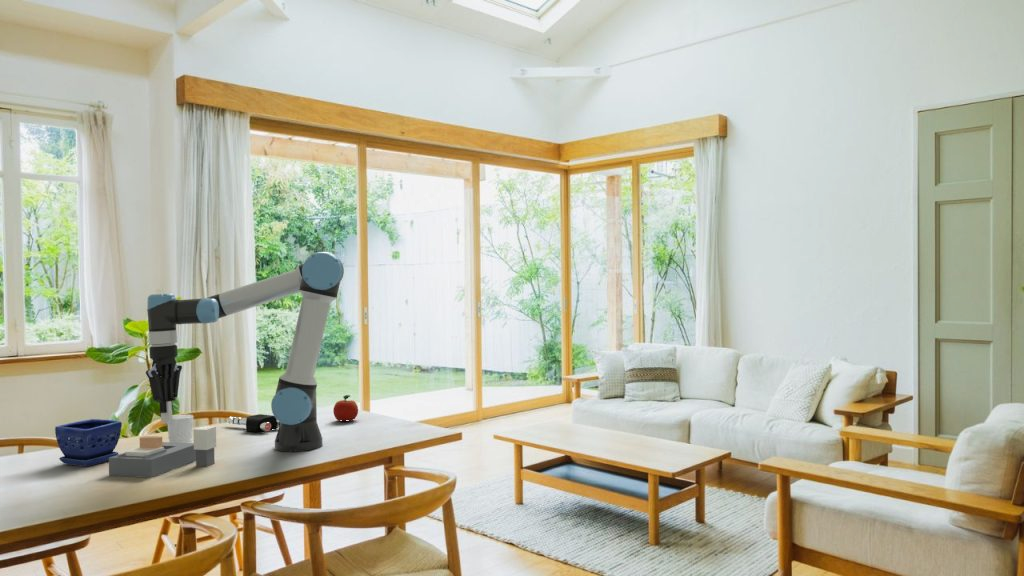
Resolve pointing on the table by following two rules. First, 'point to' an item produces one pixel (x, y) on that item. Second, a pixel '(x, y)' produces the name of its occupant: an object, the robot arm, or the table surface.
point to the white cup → (181, 429)
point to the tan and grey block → (146, 446)
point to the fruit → (345, 409)
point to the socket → (153, 461)
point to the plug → (204, 445)
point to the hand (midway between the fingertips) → (166, 422)
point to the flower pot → (88, 441)
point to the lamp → (256, 422)
